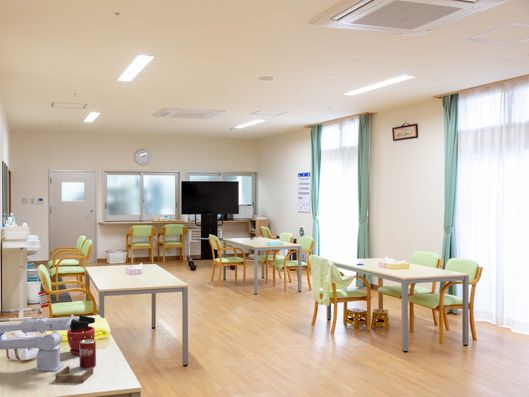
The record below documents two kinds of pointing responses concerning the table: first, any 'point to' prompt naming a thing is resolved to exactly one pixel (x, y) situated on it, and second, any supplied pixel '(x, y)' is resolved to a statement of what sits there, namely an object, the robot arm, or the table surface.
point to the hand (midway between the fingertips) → (91, 322)
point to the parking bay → (73, 376)
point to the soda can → (87, 354)
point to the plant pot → (79, 338)
